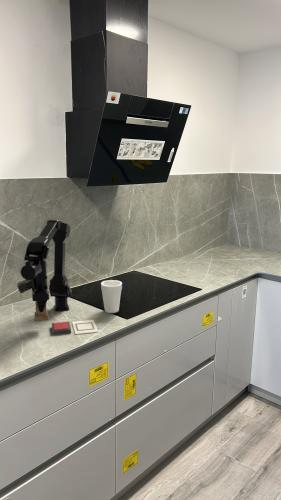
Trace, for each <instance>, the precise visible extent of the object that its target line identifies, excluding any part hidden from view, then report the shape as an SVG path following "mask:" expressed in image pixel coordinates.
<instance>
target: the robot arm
mask: <svg viewBox="0 0 281 500" xmlns="http://www.w3.org/2000/svg"><path fill="white" fill-rule="evenodd" d="M70 233H71V226H70V225H69V224H68V222H63V221H61V220H58V219H47V221H46V224H45V226H44V228H43V229H42V230H41V232H40V233H39V235H37V237H34V238H32V239H31V240H30V241H29V243H28V244H27V246H26V250H25V255H24V257H23V258H24V259H23V261H25V262H24V264H25V265H23V266H22V267H21V269H20V275H21V277H22V279H24V280H21V281H20V282H17V289H18V292H19V293H20V294H23V293H25V292H27V291H30V290H31V292H32V293H31V295H32V296H31V300H32V302H35V301H37V304H38V307H39V311H40V312H43V310H44V307H45V305H46V306H47V301H49V300H50V298H51V297H54V305H53V308H54V309H53V310H54V312H58V311H59V312H61V311H69V310H70V306H69V304H68V301H69V300H68V299H69V298H70V297H72V294H73V293H72V292H73V291H72V288H71V286H70V284H69V279H68V278H67V276H66V274H65V272H66V243H67V241H68V239H70V238H69V237H70ZM51 241H53V242H54V251H53V252H54V257H53V262H54V263H53V271H54V272H53V275H52V277H51V279H50V280H49V285H48V272H47V271H48V269H47V260H48V257H49V256H48V255H49V252H50V242H51Z"/></svg>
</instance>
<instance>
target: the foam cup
mask: <svg viewBox="0 0 281 500" xmlns="http://www.w3.org/2000/svg"><path fill="white" fill-rule="evenodd" d="M100 286H101V287H100V288H101V293H102V299H103V300H102V301H103V307H104V311H105V313H107V314H108V313H109V314H115V313H118V312H119V310H120V303H121V302H120V301H121V294H122V289H123V282H122V281H120V280H116V279H115V280H113V279H109V280H103V281H101V282H100Z"/></svg>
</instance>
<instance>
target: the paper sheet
mask: <svg viewBox="0 0 281 500" xmlns="http://www.w3.org/2000/svg"><path fill="white" fill-rule="evenodd" d="M71 323H72V328H73V331H74V334H75V335H76V336H77V335H85V334H93V333H94V332H95V333H98V332H99V330H98V328H97V325H96V323H95V320H94V319H87V320H80V321H79V320H78V321H72V322H71ZM95 333H94V334H95Z"/></svg>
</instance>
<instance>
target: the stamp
mask: <svg viewBox="0 0 281 500" xmlns="http://www.w3.org/2000/svg"><path fill="white" fill-rule="evenodd" d="M34 302H35V304H34V305H35V311H34V322H42V321H45V322H46V321H49V313H48V310H47V304H46V305H45V307H44V310H43V312H40V311H39V307H38V304H37V301H34Z"/></svg>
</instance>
